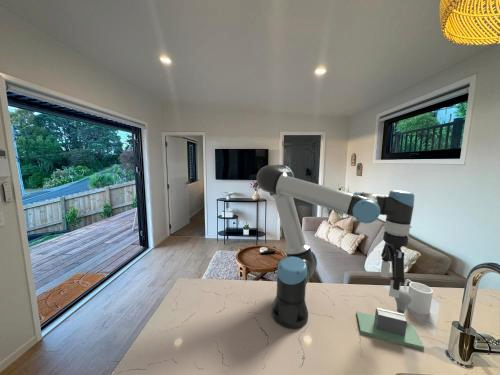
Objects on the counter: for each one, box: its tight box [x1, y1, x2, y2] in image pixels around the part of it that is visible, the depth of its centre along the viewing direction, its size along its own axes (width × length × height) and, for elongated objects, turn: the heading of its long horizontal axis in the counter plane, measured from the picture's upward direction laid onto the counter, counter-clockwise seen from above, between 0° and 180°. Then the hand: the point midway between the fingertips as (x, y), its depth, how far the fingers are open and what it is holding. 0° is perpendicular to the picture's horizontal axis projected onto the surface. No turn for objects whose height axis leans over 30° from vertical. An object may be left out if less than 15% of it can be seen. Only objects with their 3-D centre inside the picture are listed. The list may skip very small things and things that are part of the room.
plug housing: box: [374, 307, 408, 336], centre depth 82 cm, size 9×4×6 cm, turn 71°
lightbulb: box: [393, 288, 411, 315], centre depth 91 cm, size 6×6×11 cm
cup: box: [403, 278, 434, 316], centre depth 97 cm, size 8×12×10 cm
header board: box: [356, 311, 425, 351], centre depth 83 cm, size 20×11×5 cm, turn 71°
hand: (388, 285), depth 81 cm, fingers open, 13 cm apart
